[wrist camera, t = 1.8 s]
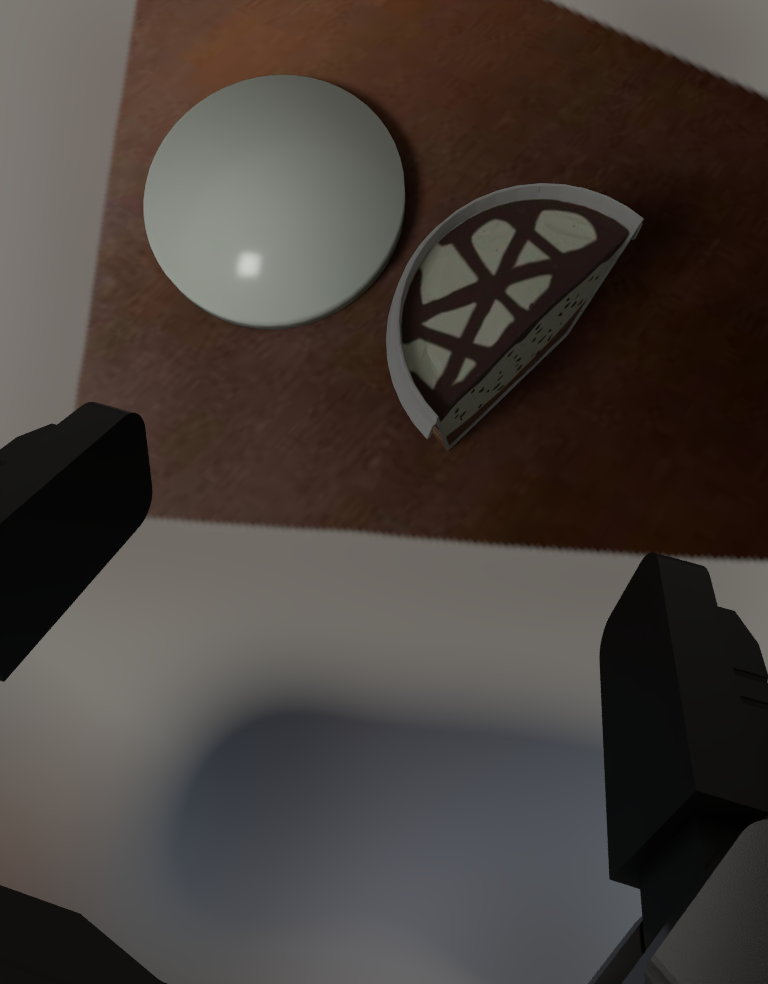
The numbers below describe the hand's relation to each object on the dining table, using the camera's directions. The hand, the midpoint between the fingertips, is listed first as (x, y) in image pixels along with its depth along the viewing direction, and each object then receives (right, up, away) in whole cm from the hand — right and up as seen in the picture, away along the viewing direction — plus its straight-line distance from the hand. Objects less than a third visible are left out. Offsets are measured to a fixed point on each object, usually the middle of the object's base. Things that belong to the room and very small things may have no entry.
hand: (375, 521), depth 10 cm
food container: (+5, +8, +24) cm, 26 cm away
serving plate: (-6, +17, +26) cm, 32 cm away
